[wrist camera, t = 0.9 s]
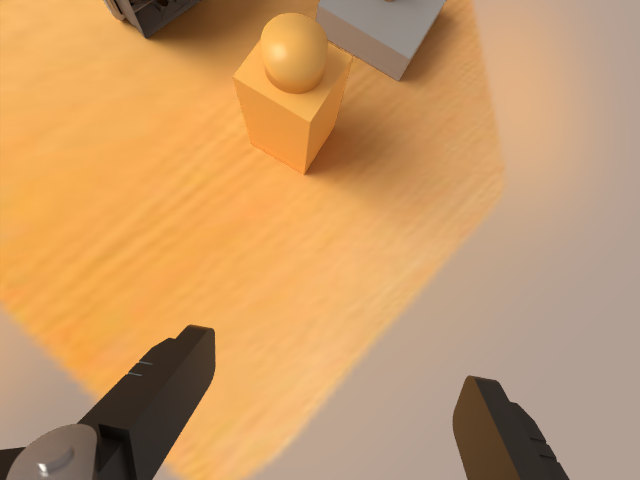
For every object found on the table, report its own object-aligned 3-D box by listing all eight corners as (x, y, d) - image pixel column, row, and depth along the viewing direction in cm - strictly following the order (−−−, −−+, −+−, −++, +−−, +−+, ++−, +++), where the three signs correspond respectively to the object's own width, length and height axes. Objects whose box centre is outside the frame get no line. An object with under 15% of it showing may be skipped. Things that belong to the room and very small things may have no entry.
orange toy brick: (251, 143, 28) (225, 52, 17) (283, 96, 29) (278, -17, 18) (304, 174, 28) (312, 103, 17) (334, 127, 29) (359, 31, 18)
